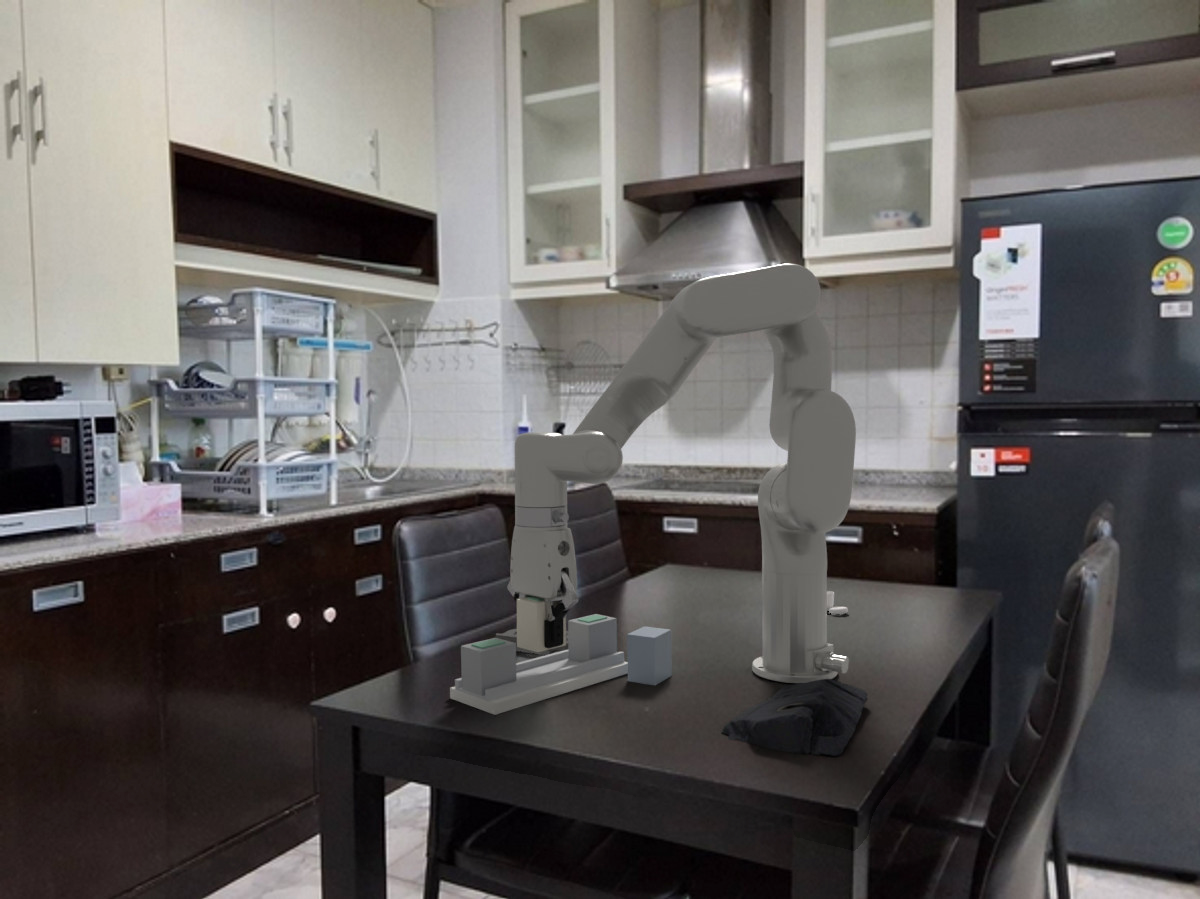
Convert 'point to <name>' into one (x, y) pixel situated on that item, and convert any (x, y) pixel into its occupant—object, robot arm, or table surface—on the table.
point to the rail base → (543, 681)
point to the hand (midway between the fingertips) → (541, 641)
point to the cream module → (533, 624)
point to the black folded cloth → (802, 718)
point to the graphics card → (512, 637)
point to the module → (649, 655)
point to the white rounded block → (831, 602)
